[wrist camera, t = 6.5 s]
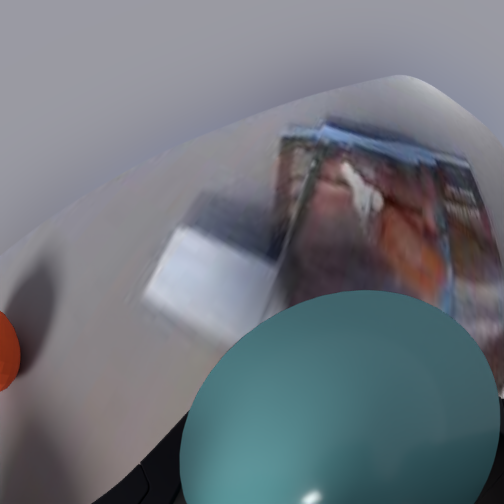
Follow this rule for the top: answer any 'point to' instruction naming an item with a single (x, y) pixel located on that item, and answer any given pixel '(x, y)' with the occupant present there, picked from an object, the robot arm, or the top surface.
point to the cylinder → (345, 409)
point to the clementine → (8, 352)
